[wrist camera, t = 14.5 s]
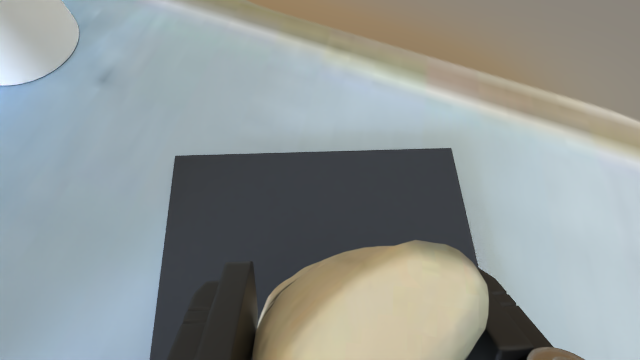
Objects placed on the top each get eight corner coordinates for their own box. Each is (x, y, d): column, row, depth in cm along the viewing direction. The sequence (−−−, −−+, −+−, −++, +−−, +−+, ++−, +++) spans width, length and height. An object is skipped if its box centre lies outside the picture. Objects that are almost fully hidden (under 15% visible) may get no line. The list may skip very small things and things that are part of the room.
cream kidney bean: (400, 450, 12) (534, 616, 5) (251, 430, 12) (163, 563, 5) (403, 280, 14) (496, 221, 7) (278, 265, 15) (244, 192, 7)
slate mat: (114, 669, 12) (108, 679, 12) (177, 158, 20) (175, 155, 20) (554, 621, 13) (561, 629, 13) (448, 151, 21) (451, 147, 21)
